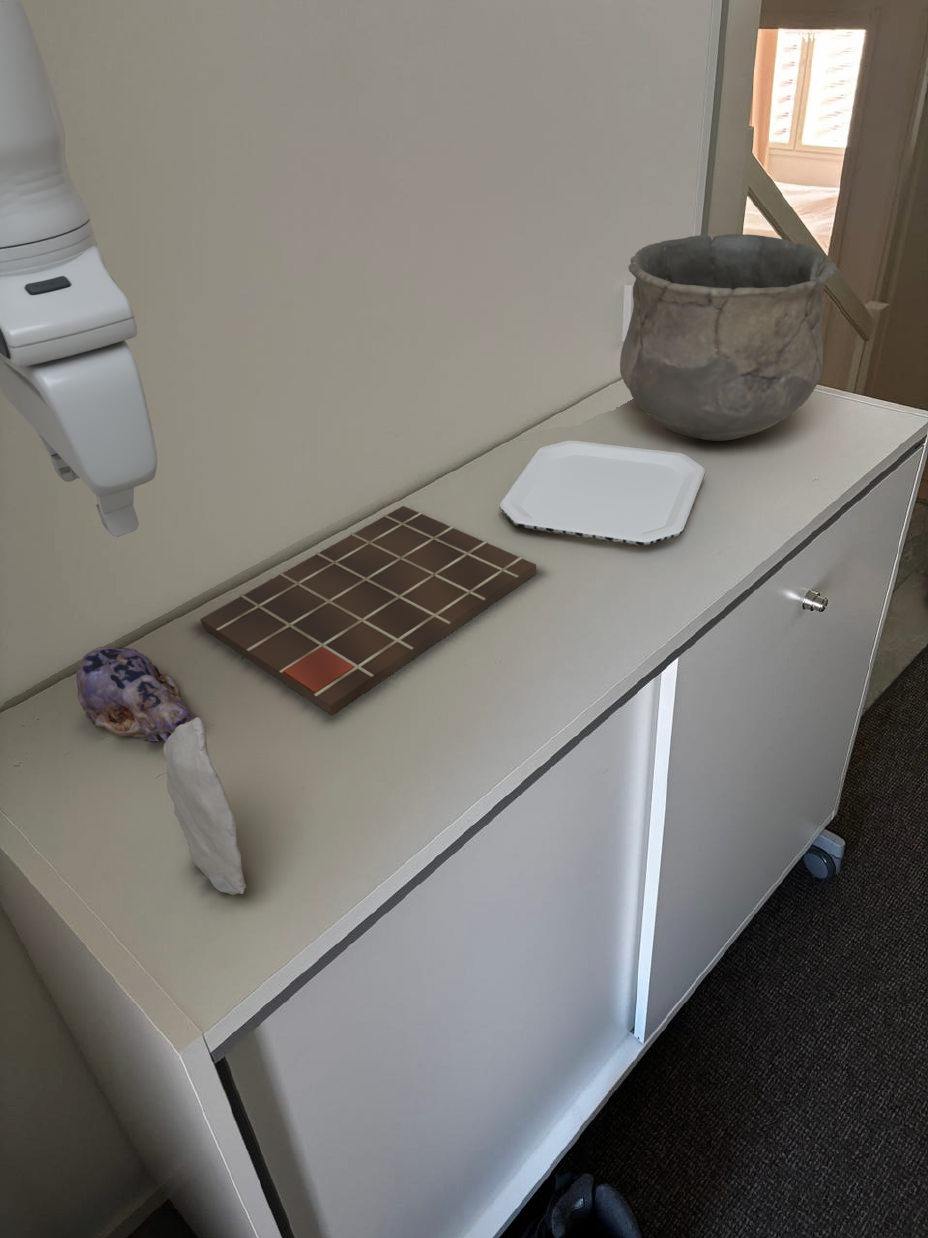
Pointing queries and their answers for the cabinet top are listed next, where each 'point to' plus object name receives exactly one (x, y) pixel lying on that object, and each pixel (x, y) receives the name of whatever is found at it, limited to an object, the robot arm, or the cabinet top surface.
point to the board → (366, 605)
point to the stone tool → (203, 807)
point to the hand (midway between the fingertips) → (96, 501)
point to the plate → (605, 492)
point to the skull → (129, 694)
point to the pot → (724, 332)
